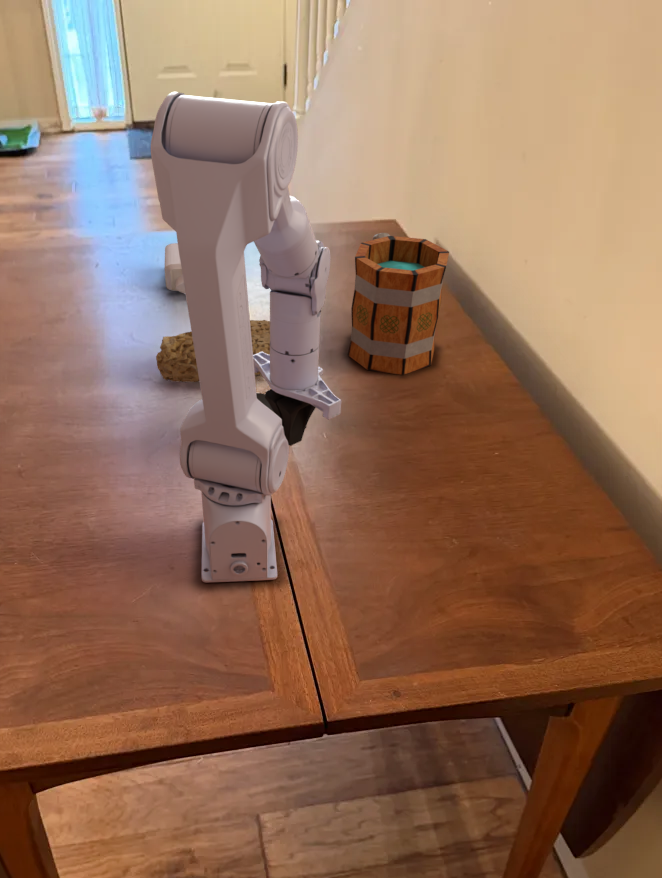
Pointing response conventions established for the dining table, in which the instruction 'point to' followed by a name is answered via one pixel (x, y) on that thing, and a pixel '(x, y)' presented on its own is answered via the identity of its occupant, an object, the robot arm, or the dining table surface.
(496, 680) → the dining table surface
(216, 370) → the robot arm
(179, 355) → the sponge
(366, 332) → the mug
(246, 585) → the dining table surface
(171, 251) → the charger
